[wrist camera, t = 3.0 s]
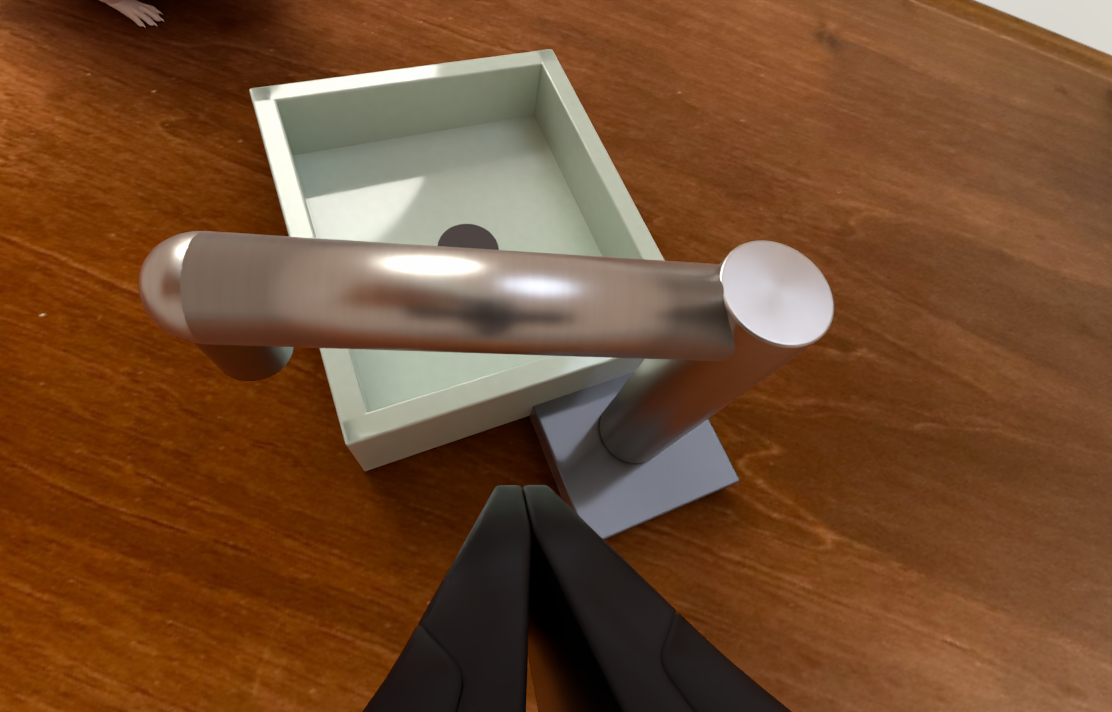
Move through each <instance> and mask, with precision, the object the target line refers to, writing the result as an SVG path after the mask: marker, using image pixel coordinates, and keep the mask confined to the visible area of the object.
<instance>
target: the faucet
mask: <svg viewBox="0 0 1112 712" xmlns="http://www.w3.org/2000/svg"><path fill="white" fill-rule="evenodd" d="M138 287H139V294H140V298H141V302H142V304H143V306H144V308H145V310H146V311H147V313H148V314H149V316H150V317H151V318H152V320H153V321H154V322H155V323H156V324H157V325H159V326H160V327H161V328H162V329H163V330H165V331H166V332H168V333H170V334H171V335H173V336H175V337H177V338H180V339H183V340H186V341H189V342H193V343H194V344H195V345H196V346H198V347H199V348H200V349H201V350H202V351H203V352H204V353H205V354H206V355H207V356H208V357H209V358H210V359H211V360H212V361H213V362H214V363H215V364H216V365H217V366H218V367H219V368H220V369H221V370H222V371H223V372H224V373H225V374H227V375H228V376H230V377H232V378H234V379H237V380H242V381H256V380H262V379H265V378H268V377H270V376H272V375H274V374H276V373H277V372H279V371H280V370H281V369H282V368H283V367H284V366H285V365H286V364H287V362H288V361H289V359H290V357H291V355H292V352H293V348H294V347H303V348H333V349H363V350H394V351H424V352H455V353H485V354H515V355H546V356H576V357H606V358H637V359H644V361H643V362H642V363H641V364H640V366H639V367H638V368H637V370H636V371H635V372H634V373H633V375H632V376H631V377H630V378H629V380H628V381H627V382H626V383H625V385H624V386H623V387H622V389H621V390H620V391H619V392H618V394H617V395H616V396H615V397H614V399H613V400H612V401H611V402H610V404H609V405H608V406H607V408H606V409H605V410H604V412H603V414H602V416H601V420H600V433H601V437H602V440H603V442H604V444H605V446H606V447H607V449H608V450H609V451H610V452H611V453H612V454H613V455H614V456H616V457H617V458H619V459H621V460H623V461H626V462H629V463H643V462H647V461H649V460H651V459H653V458H654V457H656V456H657V455H658V454H660V453H661V452H663V451H664V450H665V449H667V448H668V447H670V446H671V445H672V444H674V443H675V442H677V441H678V440H679V439H681V438H682V437H684V436H685V435H686V434H688V433H689V432H691V431H692V430H693V429H695V428H696V427H698V426H699V425H700V424H702V423H703V422H705V421H706V420H707V419H709V418H710V417H712V416H713V415H715V414H716V413H717V412H719V411H720V410H722V409H723V408H724V407H726V406H727V405H729V404H730V403H731V402H733V401H734V400H736V399H737V398H738V397H740V396H741V395H743V394H744V393H745V392H747V391H748V390H750V389H751V388H752V387H754V386H755V385H757V384H758V383H759V382H761V381H762V380H764V379H765V378H766V377H768V376H769V375H771V374H772V373H773V372H775V371H776V370H778V369H779V368H780V367H782V366H783V365H785V364H786V363H787V362H789V361H790V360H792V359H793V358H794V357H796V356H797V355H799V354H800V353H801V352H803V351H804V350H806V349H807V348H808V347H810V346H811V345H813V344H814V343H815V342H817V341H818V340H819V339H821V338H822V337H823V336H824V335H825V334H826V332H827V331H828V329H829V328H830V325H831V323H832V320H833V316H834V299H833V294H832V291H831V288H830V286H829V284H828V282H827V280H826V278H825V277H824V275H823V274H822V272H821V271H820V270H819V268H818V267H817V266H816V265H815V264H814V263H813V262H812V261H811V260H810V259H808V258H807V257H806V256H805V255H803V254H802V253H800V252H799V251H797V250H795V249H793V248H791V247H789V246H787V245H784V244H781V243H777V242H773V241H761V240H759V241H751V242H747V243H744V244H742V245H740V246H738V247H736V248H734V249H733V250H732V251H731V252H729V253H728V255H727V256H726V257H725V258H724V259H723V261H722V262H721V263H720V264H708V263H693V262H677V261H662V260H646V259H631V258H615V257H600V256H584V255H569V254H553V253H538V252H522V251H507V250H491V249H476V248H460V247H444V246H429V245H413V244H398V243H382V242H367V241H351V240H336V239H320V238H305V237H289V236H274V235H258V234H243V233H227V232H211V231H193V232H186V233H182V234H177V235H175V236H173V237H171V238H168V239H166V240H165V241H163V242H161V243H160V244H159V245H157V246H156V247H155V248H154V249H153V250H152V251H151V252H150V253H149V255H148V256H147V257H146V259H145V261H144V262H143V264H142V267H141V269H140V274H139V281H138Z"/></svg>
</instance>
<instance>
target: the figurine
mask: <svg viewBox="0 0 1112 712" xmlns="http://www.w3.org/2000/svg"><path fill="white" fill-rule="evenodd" d="M99 1H101V2H104V3H106V4H108V5H109V6H111V7H113V8H115V9H116V10H118V11H120V12H121V13H123V14H124V15H126V16H127V17H129V18H130V19H132V20H133V21H134V22H136V24H137V25H138V26H140V27H142V26H144V27H145V25H144V23H143V22H142V21H141V20H140V19H142V20H143V21H145V22H146V23H147V24H149V25H151V26H153V25H155V26H157V24H156V23H155V22H154V21H153V20H155V21H158V22H159V21H163V22H165V21H164V20H163V19H162V18H161V17H160V16H159V15H158V14H162V12H160V11H159V10H158V9H156V8H155V7H154V6H151V5H148V4H144V3H141V2H139V1H137V0H99ZM162 15H163V14H162ZM150 17H151V18H152V19H153V20H152V19H151V18H150ZM157 27H158V26H157ZM145 28H146V27H145Z"/></svg>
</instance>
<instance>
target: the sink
mask: <svg viewBox="0 0 1112 712" xmlns="http://www.w3.org/2000/svg"><path fill="white" fill-rule="evenodd" d="M249 92H250V96H251V100H252V103H253V107H254V111H255V114H256V118H257V122H258V125H259V129H260V133H261V136H262V140H263V144H264V147H265V151H266V155H267V158H268V162H269V166H270V169H271V173H272V177H273V180H274V184H275V188H276V191H277V195H278V199H279V203H280V206H281V210H282V214H283V217H284V221H285V225H286V228H287V232H288V236H289V237H305V238H320V239H336V240H351V241H367V242H382V243H398V244H413V245H429V246H444V247H460V248H476V249H491V250H507V251H522V252H538V253H553V254H569V255H584V256H600V257H615V258H631V259H646V260H662V261H665V260H664V259H663V257H662V255H661V253H660V251H659V249H658V247H657V245H656V244H655V242H654V240H653V238H652V236H651V234H650V232H649V230H648V229H647V227H646V225H645V223H644V221H643V219H642V217H641V215H640V213H639V212H638V210H637V208H636V206H635V204H634V202H633V200H632V198H631V197H630V195H629V193H628V191H627V189H626V187H625V185H624V183H623V182H622V180H621V178H620V176H619V174H618V172H617V170H616V168H615V166H614V165H613V163H612V161H611V159H610V157H609V155H608V153H607V151H606V150H605V148H604V146H603V144H602V142H601V140H600V138H599V136H598V135H597V133H596V131H595V129H594V127H593V125H592V123H591V121H590V119H589V118H588V116H587V114H586V112H585V110H584V108H583V106H582V104H581V103H580V101H579V99H578V97H577V95H576V93H575V91H574V89H573V88H572V86H571V84H570V82H569V80H568V78H567V76H566V74H565V72H564V71H563V69H562V67H561V65H560V63H559V61H558V59H557V57H556V56H555V54H554V52H553V50H552V49H548V50H540V51H533V52H525V53H517V54H510V55H502V56H494V57H487V58H479V59H471V60H464V61H456V62H448V63H441V64H433V65H425V66H418V67H410V68H402V69H395V70H387V71H379V72H372V73H364V74H356V75H349V76H341V77H334V78H326V79H318V80H311V81H303V82H295V83H288V84H280V85H272V86H265V87H257V88H250V89H249ZM319 350H320V353H321V357H322V361H323V364H324V368H325V372H326V375H327V379H328V383H329V386H330V390H331V394H332V397H333V401H334V405H335V408H336V412H337V416H338V419H339V423H340V427H341V431H342V434H343V438H344V442H345V445H346V446H347V448H348V449H349V450H350V452H351V453H352V455H353V456H354V458H355V459H356V460H357V462H358V463H359V465H360V466H361V468H362V469H363V470H364V471H368V470H371V469H373V468H376V467H379V466H382V465H385V464H388V463H391V462H394V461H397V460H400V459H403V458H406V457H409V456H412V455H415V454H418V453H421V452H424V451H427V450H429V449H432V448H435V447H438V446H441V445H444V444H447V443H450V442H453V441H456V440H459V439H462V438H465V437H468V436H471V435H474V434H477V433H480V432H482V431H485V430H488V429H491V428H494V427H497V426H500V425H503V424H506V423H509V422H512V421H515V420H518V419H521V418H524V417H527V416H529V417H530V419H531V422H532V424H533V427H534V429H535V432H536V434H537V437H538V440H539V442H540V445H541V447H542V450H543V452H544V455H545V457H546V460H547V462H548V465H549V468H550V470H551V473H552V475H553V478H554V480H555V483H556V485H557V488H558V490H559V493H560V495H561V498H562V500H563V501H564V502H565V503H566V504H567V505H568V506H569V507H570V508H572V509H573V510H574V511H575V512H576V513H577V514H578V515H579V516H580V517H581V518H582V519H583V520H584V521H585V522H586V523H587V524H588V525H589V526H590V527H591V528H592V529H593V530H594V531H595V532H596V533H597V534H598V535H599V536H600V537H601V538H602V539H603V540H605V539H607V538H610V537H612V536H614V535H617V534H619V533H621V532H624V531H626V530H628V529H631V528H633V527H635V526H638V525H640V524H642V523H645V522H647V521H649V520H652V519H654V518H656V517H659V516H661V515H663V514H666V513H668V512H670V511H673V510H675V509H677V508H680V507H682V506H684V505H687V504H689V503H691V502H694V501H696V500H698V499H701V498H703V497H705V496H708V495H710V494H712V493H715V492H717V491H719V490H722V489H724V488H726V487H729V486H731V485H733V484H736V483H738V482H739V481H740V480H739V478H738V476H737V474H736V472H735V470H734V468H733V466H732V464H731V462H730V460H729V458H728V456H727V454H726V452H725V450H724V448H723V446H722V444H721V442H720V440H719V438H718V436H717V434H716V432H715V430H714V428H713V426H712V424H711V422H710V420H709V419H707V420H706V421H705V422H703V423H702V424H700V425H699V426H698V427H696V428H695V429H693V430H692V431H691V432H689V433H688V434H686V435H685V436H684V437H682V438H681V439H679V440H678V441H677V442H675V443H674V444H672V445H671V446H670V447H668V448H667V449H665V450H664V451H663V452H661V453H660V454H658V455H657V456H656V457H654V458H653V459H651V460H649V461H647V462H643V463H629V462H626V461H623V460H621V459H619V458H617V457H616V456H614V455H613V454H612V453H611V452H610V451H609V450H608V449H607V447H606V446H605V444H604V442H603V440H602V437H601V433H600V420H601V416H602V414H603V412H604V410H605V409H606V408H607V406H608V405H609V404H610V402H611V401H612V400H613V399H614V397H615V396H616V395H617V394H618V392H619V391H620V390H621V389H622V387H623V386H624V385H625V383H626V382H627V381H628V380H629V378H630V377H631V376H632V375H633V373H634V372H635V371H636V370H637V368H638V367H639V366H640V364H641V363H642V362H643V361H644V359H637V358H606V357H576V356H546V355H515V354H485V353H455V352H424V351H394V350H363V349H333V348H319Z"/></svg>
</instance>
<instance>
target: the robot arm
mask: <svg viewBox="0 0 1112 712" xmlns="http://www.w3.org/2000/svg"><path fill="white" fill-rule="evenodd" d="M527 658H529V663H530V669H531V674H532V679H533V685H534V690H535V696H536V701H537V707H538V712H791V711H790V710H789V709H788V708H786V707H785V706H784V705H783V704H782V703H780V702H779V701H778V700H777V699H775V698H774V697H773V696H772V695H770V694H769V693H768V692H767V691H765V690H764V689H763V688H762V687H761V686H759V685H758V684H757V683H756V682H755V681H753V680H752V679H751V678H750V677H749V676H748V675H746V674H745V673H744V672H743V671H742V670H740V669H739V668H738V667H737V666H736V665H734V664H733V663H732V662H731V661H730V660H729V659H727V658H726V657H725V656H724V655H723V654H722V653H721V652H720V651H719V650H718V649H716V648H715V647H714V646H713V645H712V644H711V643H710V642H709V641H708V640H707V639H706V638H705V637H704V636H702V635H701V634H700V633H699V632H698V631H697V630H696V629H695V628H694V627H693V626H692V625H691V624H690V623H689V622H688V621H687V620H686V619H685V618H684V617H683V616H682V615H681V614H679V613H677V614H676V610H675V609H674V608H673V607H672V606H671V605H670V604H669V603H668V602H667V601H666V600H665V599H664V598H663V597H662V596H661V595H660V594H659V593H658V592H657V591H656V590H655V589H654V588H653V587H652V586H651V585H650V584H648V583H647V582H646V581H645V580H644V579H643V578H642V577H641V576H640V575H639V574H638V573H637V572H636V571H635V570H634V569H633V568H632V567H631V566H630V565H629V564H628V563H627V562H626V561H625V560H624V559H623V558H622V557H621V556H620V555H619V554H618V553H617V552H616V551H615V550H614V549H613V548H612V547H611V546H609V545H608V544H607V543H606V542H605V541H604V540H603V539H602V538H601V537H600V536H599V535H598V534H597V533H596V532H595V531H594V530H593V529H592V528H591V527H590V526H589V525H588V524H587V523H586V522H585V521H584V520H583V519H582V518H581V517H580V516H579V515H578V514H577V513H576V512H575V511H574V510H573V509H572V508H570V507H569V506H568V505H567V504H566V503H565V502H564V501H563V500H562V499H561V498H560V497H559V496H558V495H557V494H556V493H555V492H554V491H553V490H552V489H551V488H550V487H549V486H547V485H525V486H523V488H521V487H520V486H519V485H498V486H496V487H495V489H494V490H493V492H492V494H491V496H490V497H489V499H488V501H487V503H486V504H485V506H484V508H483V510H482V512H481V513H480V515H479V517H478V519H477V520H476V522H475V524H474V526H473V527H472V529H471V531H470V533H469V535H468V536H467V538H466V540H465V542H464V543H463V545H462V547H461V549H460V551H459V552H458V554H457V556H456V558H455V559H454V561H453V563H452V565H451V567H450V568H449V570H448V572H447V574H446V575H445V577H444V579H443V581H442V582H441V584H440V586H439V588H438V590H437V591H436V593H435V595H434V597H433V598H432V600H431V602H430V604H429V606H428V607H427V609H426V611H425V613H424V614H423V616H422V618H421V620H420V622H419V624H418V626H417V627H416V628H415V630H414V632H413V633H412V635H411V637H410V639H409V640H408V642H407V644H406V646H405V648H404V649H403V651H402V653H401V654H400V656H399V657H398V659H397V661H396V662H395V664H394V666H393V667H392V669H391V670H390V672H389V674H388V675H387V677H386V679H385V680H384V682H383V683H382V685H381V686H380V687H379V689H378V690H377V692H376V693H375V695H374V696H373V697H372V699H371V700H370V702H369V703H368V704H367V706H366V707H365V709H364V710H363V712H526V686H527Z"/></svg>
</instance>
